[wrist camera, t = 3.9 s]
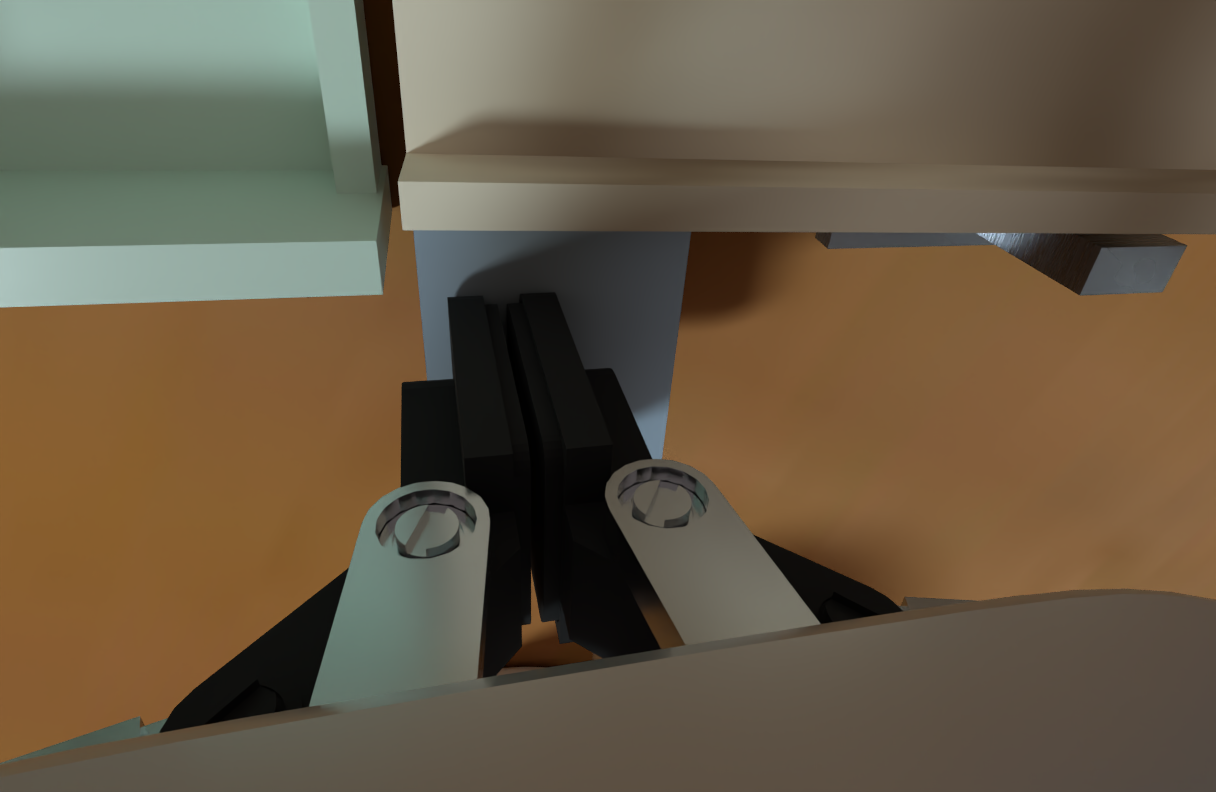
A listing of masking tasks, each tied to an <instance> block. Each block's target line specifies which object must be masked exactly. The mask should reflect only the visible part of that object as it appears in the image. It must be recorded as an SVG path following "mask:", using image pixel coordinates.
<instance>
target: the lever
mask: <svg viewBox="0 0 1216 792" xmlns="http://www.w3.org/2000/svg"><path fill="white" fill-rule="evenodd" d="M392 3H393V14H394V24H395V35H396V46H397V57H398V68H399V79H400V90H401V100H402V111H403V122H404V133H405V144H406V156H405V159H404V163H403V166H402V169H401V172H400V176H399V179H398V189H399V199H400V208H401V218H402V228H403V230H413V231H414V242H415V252H416V263H417V274H418V285H419V296H420V307H421V318H422V328H423V339H424V350H425V361H426V372H427V381H428V380H443V379H453V373H452V359H451V345H450V331H449V317H448V302H447V297H461V296H483V299H484V304H485V305H488V304H497V305H498V309H499V314H500V318H501V322H502V327H503V331H504V336H505V340H506V345H507V304H510V303H519V296H520V294H528V293H549V292H555V293H556V295H557V298H558V301H559V303H560V306H561V308H562V311H563V314H564V316H565V319H566V322H567V324H568V327H569V330H570V332H571V335H572V338H573V340H574V343H575V345H576V348H577V351H578V353H579V356H580V359H581V361H582V364H583V367H584V369H599V368H611V369H612V370H613V371H614V373H615V375H616V377H617V379H618V382H619V384H620V386H621V388H622V391H623V393H624V395H625V397H626V400H627V402H628V404H629V407H630V409H631V411H632V413H633V416H634V418H635V420H636V423H637V425H638V427H639V429H640V432H641V434H642V436H643V439H644V441H645V443H646V445H647V448H648V450H649V452H650V454H651V457H652V459H662V453H663V445H664V437H665V430H666V422H667V414H668V406H669V399H670V391H671V383H672V376H673V368H674V360H675V352H676V345H677V337H678V329H679V321H680V314H681V306H682V298H683V291H684V283H685V275H686V267H687V260H688V252H689V244H690V237H691V232H872V233H1078V234H1216V0H392Z"/></svg>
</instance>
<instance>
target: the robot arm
mask: <svg viewBox="0 0 1216 792" xmlns="http://www.w3.org/2000/svg"><path fill="white" fill-rule="evenodd" d="M447 302H448V317H449V331H450V345H451V359H452V373H453V379H443V380H428V381H414V382H403V383H402V410H401V488H397V489H396V490H394V491H392V492H390V493H389V494H387V495H385V496H383V497H381V498H380V499H379V500H378V501H377V502H376V503H375V504H374V505H373V506H372V507H371V508H370V509H369V511H368V512H367V514H366V516H365V518H364V520H363V522H362V525H361V528H360V532H359V535H358V539H357V542H356V546H355V549H354V552H353V556H352V559H351V563H350V566H349V568H348V569H347V570H345V571H344V572H343V573H342V574H340V575H339V576H338V577H337V578H335V579H334V580H333V581H331V582H330V583H329V584H328V585H326V586H325V587H324V588H323V589H321V590H320V591H319V592H317V593H316V594H315V595H314V596H312V597H311V598H310V599H308V600H307V601H306V602H305V603H303V604H302V605H301V606H300V607H298V608H297V609H296V610H294V611H293V612H292V613H291V614H289V615H288V616H287V617H286V618H284V619H283V620H282V621H280V622H279V623H278V624H277V625H275V626H274V627H273V628H272V629H270V630H269V631H268V632H266V633H265V634H264V635H263V636H261V637H260V638H259V639H257V640H256V641H255V642H254V643H252V644H251V645H250V646H249V647H247V648H246V649H245V650H243V651H242V652H241V653H240V654H238V655H237V656H236V657H235V658H233V659H232V660H231V661H229V662H228V663H227V664H226V665H224V666H223V667H222V668H220V669H219V670H218V671H217V672H215V673H214V674H213V675H212V676H210V677H209V678H208V679H206V680H205V681H204V682H203V683H201V684H200V685H199V686H198V687H196V688H195V689H194V690H193V691H192V692H191V693H190V694H189V695H188V696H187V697H185V698H184V699H183V700H182V701H181V702H180V703H179V704H178V705H177V706H176V707H175V708H174V710H173V711H172V713H171V714H170V716H169V717H168V718H167V719H164V720H161V721H158V722H155V723H152V724H149V725H147V726H145V725H144V723H143V721H142V719H141V717H140V716H139V717H136V718H133V719H130V720H127V721H124V722H121V723H118V724H115V725H112V726H109V727H106V728H103V729H100V730H98V731H95V732H92V733H89V734H86V735H83V736H80V737H77V738H74V739H71V740H68V741H65V742H62V743H59V744H56V745H53V746H50V747H47V748H44V749H41V750H38V751H35V752H32V753H29V754H26V755H23V756H20V757H17V758H14V759H11V760H8V761H5V762H2V763H0V792H1216V600H1214V599H1209V598H1203V597H1197V596H1192V595H1186V594H1180V593H1175V592H1166V591H1152V590H1137V589H1096V590H1069V591H1060V592H1052V593H1043V594H1032V595H1020V596H1011V597H1004V598H997V599H989V600H982V601H973V600H954V599H935V598H917V597H904V600H903V602H902V604H901V606H897V605H896V604H895V603H894V602H893V601H891V600H890V599H889V598H888V597H886V596H885V595H883V594H881V593H879V592H878V591H876V590H874V589H872V588H871V587H869V586H866V585H864V584H862V583H860V582H857V581H855V580H853V579H851V578H849V577H846V576H844V575H842V574H840V573H837V572H835V571H833V570H831V569H828V568H826V567H824V566H822V565H819V564H817V563H815V562H813V561H811V560H808V559H806V558H804V557H802V556H799V555H797V554H795V553H793V552H790V551H788V550H786V549H784V548H782V547H779V546H777V545H775V544H773V543H770V542H768V541H766V540H764V539H761V538H759V537H757V536H755V535H753V534H752V533H751V532H750V530H749V529H748V528H747V526H746V525H745V524H744V522H743V521H742V520H741V518H740V517H739V516H738V514H737V513H736V512H735V510H734V509H733V508H732V507H731V505H730V504H729V503H728V501H727V500H726V499H725V497H724V496H723V495H722V493H721V492H720V491H719V489H718V488H717V487H716V485H715V484H714V483H713V482H712V481H711V480H710V479H709V478H708V477H707V476H706V475H705V474H703V473H702V472H700V471H698V470H696V469H695V468H693V467H691V466H689V465H686V464H683V463H679V462H676V461H672V460H663V459H652V457H651V454H650V452H649V450H648V448H647V445H646V443H645V441H644V439H643V436H642V434H641V432H640V429H639V427H638V425H637V423H636V420H635V418H634V416H633V413H632V411H631V409H630V407H629V404H628V402H627V400H626V397H625V395H624V393H623V391H622V388H621V386H620V384H619V382H618V379H617V377H616V375H615V373H614V371H613V370H612V369H611V368H599V369H584V367H583V364H582V361H581V359H580V356H579V353H578V351H577V348H576V345H575V343H574V340H573V338H572V335H571V332H570V330H569V327H568V324H567V322H566V319H565V316H564V314H563V311H562V308H561V306H560V303H559V301H558V298H557V295H556V293H555V292H549V293H528V294H520V296H519V303H510V304H507V345H506V340H505V336H504V331H503V327H502V322H501V318H500V314H499V309H498V305H497V304H488V305H485V304H484V299H483V296H461V297H447ZM531 570H532V575H533V581H534V586H535V592H536V597H537V602H538V608H539V613H540V618H541V621H542V622H547V621H554V620H555V623H556V628H557V633H558V638H559V642H560V644H562V643H569V642H575V643H577V644H579V645H580V646H582V647H584V648H586V649H587V650H589V651H591V652H592V653H593V658H592V660H591V661H585V662H579V663H573V664H566V665H560V666H554V667H548V668H542V669H535V670H529V671H523V672H517V673H511V674H504V675H498V676H497V674H498V673H499V671H500V670H501V669H502V668H503V667H504V666H505V665H506V664H507V662H508V661H509V660H510V659H511V658H512V657H513V656H514V654H515V653H516V652H517V651H518V650H519V649H520V648H521V647H522V625H526V624H530V623H531Z"/></svg>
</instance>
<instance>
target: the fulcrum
mask: <svg viewBox="0 0 1216 792" xmlns="http://www.w3.org/2000/svg"><path fill="white" fill-rule="evenodd" d="M815 238H816V239H817V240H818V241H820V242H821V243H822V244H823V245H824V246H825V247H827V248H828V249H837V248H879V247H920V246H961V245H996V246H998V247H1000V248H1001V249H1003V250H1005V251H1006V252H1008V253H1010V254H1011V255H1013V256H1015V257H1016V258H1018V259H1020V260H1021V261H1023V262H1025V263H1026V264H1028V265H1030V266H1031V267H1033V268H1035V269H1036V270H1038V271H1040V272H1041V273H1043V274H1045V275H1046V276H1048V277H1050V278H1051V279H1053V280H1055V281H1056V282H1058V283H1060V284H1061V285H1063V286H1065V287H1067V288H1068V289H1070V290H1072V291H1073V292H1075V293H1077V294H1078V295H1102V294H1126V293H1150V292H1163V290H1164V288H1165V286H1166V284H1167V283H1168V281H1169V279H1170V277H1171V275H1172V273H1173V271H1174V269H1175V267H1176V266H1177V264H1178V262H1179V260H1180V258H1181V256H1182V254H1183V252H1184V251H1185V249H1186V247H1187V245H1185V244H1182V243H1180V242H1178V241H1176V240H1174V239H1171V238H1169V237H1167V236H1165V235H1162V234H1078V233H872V232H816V236H815Z"/></svg>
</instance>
